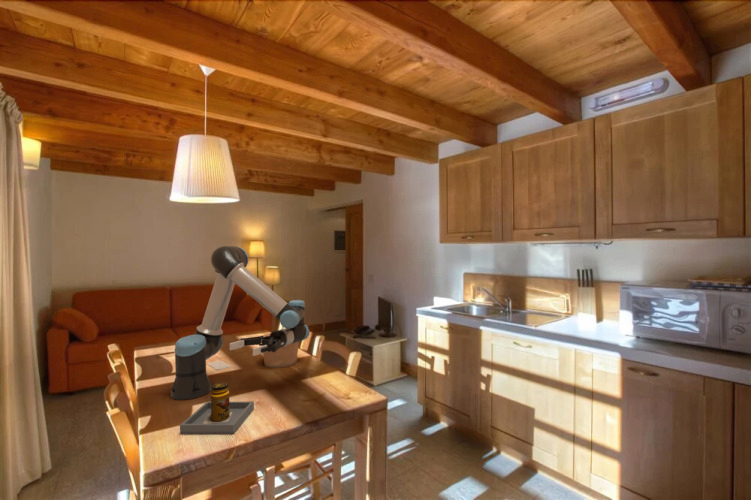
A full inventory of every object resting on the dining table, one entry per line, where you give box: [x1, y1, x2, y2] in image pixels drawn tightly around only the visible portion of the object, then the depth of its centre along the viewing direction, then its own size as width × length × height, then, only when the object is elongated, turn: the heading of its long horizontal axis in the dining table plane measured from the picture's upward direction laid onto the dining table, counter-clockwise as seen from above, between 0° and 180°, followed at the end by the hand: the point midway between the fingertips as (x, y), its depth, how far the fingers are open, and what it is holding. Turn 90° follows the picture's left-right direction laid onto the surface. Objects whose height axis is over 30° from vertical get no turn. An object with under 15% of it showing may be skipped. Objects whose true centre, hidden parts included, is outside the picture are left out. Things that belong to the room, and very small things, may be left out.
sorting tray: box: [179, 400, 255, 435], centre depth 126 cm, size 18×18×3 cm
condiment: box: [203, 382, 232, 424], centre depth 126 cm, size 7×8×12 cm
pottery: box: [261, 332, 300, 369], centre depth 189 cm, size 22×22×14 cm
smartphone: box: [206, 360, 231, 371], centre depth 187 cm, size 7×1×15 cm
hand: (241, 349), depth 139 cm, fingers open, 13 cm apart
